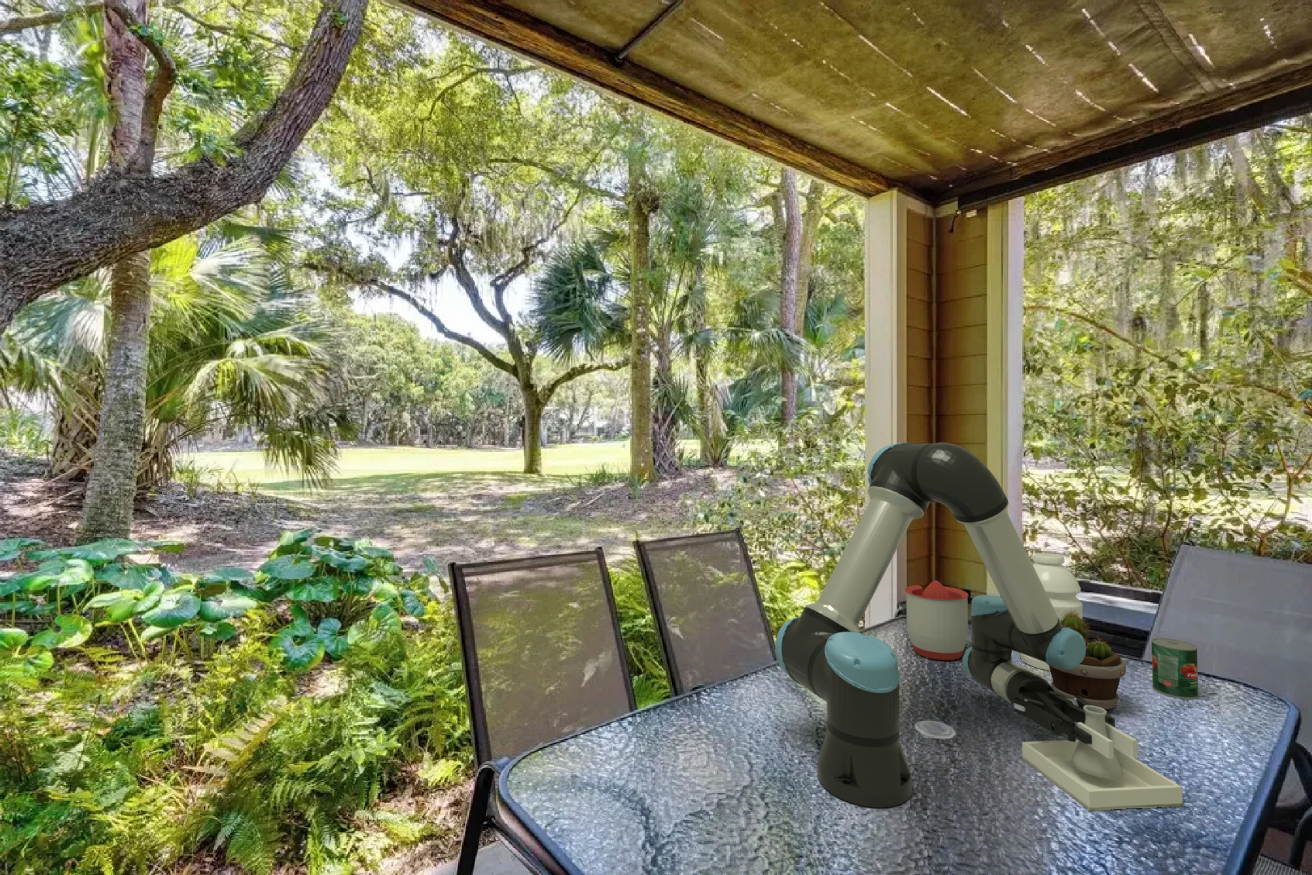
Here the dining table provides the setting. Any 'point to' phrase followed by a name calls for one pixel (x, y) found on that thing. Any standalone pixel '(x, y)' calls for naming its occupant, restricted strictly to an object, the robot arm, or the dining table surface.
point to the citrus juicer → (937, 620)
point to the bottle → (1056, 592)
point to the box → (1102, 779)
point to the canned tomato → (1175, 668)
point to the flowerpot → (1090, 671)
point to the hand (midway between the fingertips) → (1123, 749)
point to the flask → (1090, 758)
